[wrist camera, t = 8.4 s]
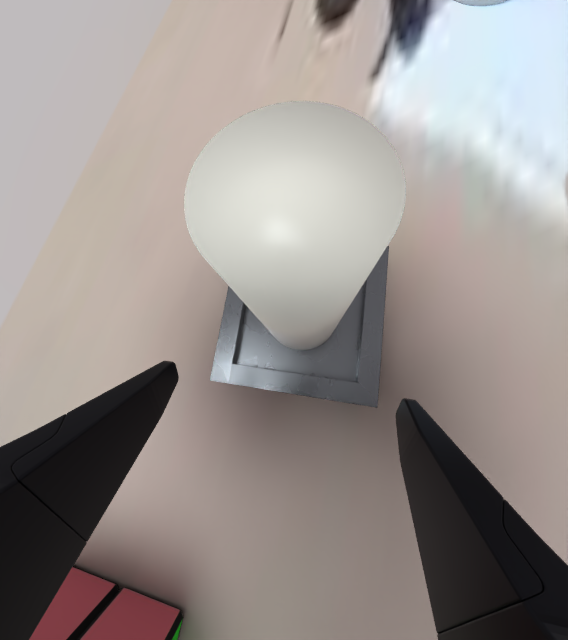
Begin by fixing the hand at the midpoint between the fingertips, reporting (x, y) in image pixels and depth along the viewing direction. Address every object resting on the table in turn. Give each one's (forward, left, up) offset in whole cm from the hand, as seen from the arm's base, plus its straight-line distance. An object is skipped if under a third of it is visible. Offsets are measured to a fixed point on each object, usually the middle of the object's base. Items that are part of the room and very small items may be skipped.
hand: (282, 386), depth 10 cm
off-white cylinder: (+4, -2, -7) cm, 9 cm away
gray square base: (+4, -2, -10) cm, 11 cm away
